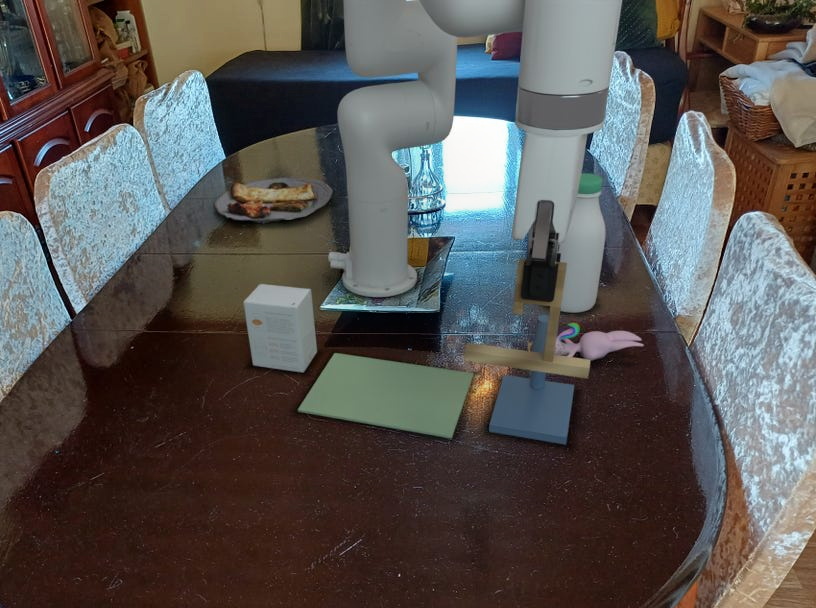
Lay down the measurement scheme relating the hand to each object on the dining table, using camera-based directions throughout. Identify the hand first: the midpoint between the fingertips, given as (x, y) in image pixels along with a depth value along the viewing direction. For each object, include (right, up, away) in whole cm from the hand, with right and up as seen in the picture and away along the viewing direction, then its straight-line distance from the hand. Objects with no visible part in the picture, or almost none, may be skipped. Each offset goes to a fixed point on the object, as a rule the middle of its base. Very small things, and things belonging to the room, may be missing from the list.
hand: (538, 292), depth 73 cm
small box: (-28, -7, +31) cm, 42 cm away
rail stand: (+4, -13, +18) cm, 22 cm away
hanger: (0, -7, +5) cm, 9 cm away
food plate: (-34, +26, +82) cm, 92 cm away
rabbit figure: (+14, -7, +27) cm, 31 cm away
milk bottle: (+16, +2, +41) cm, 44 cm away
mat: (-14, -11, +23) cm, 29 cm away
